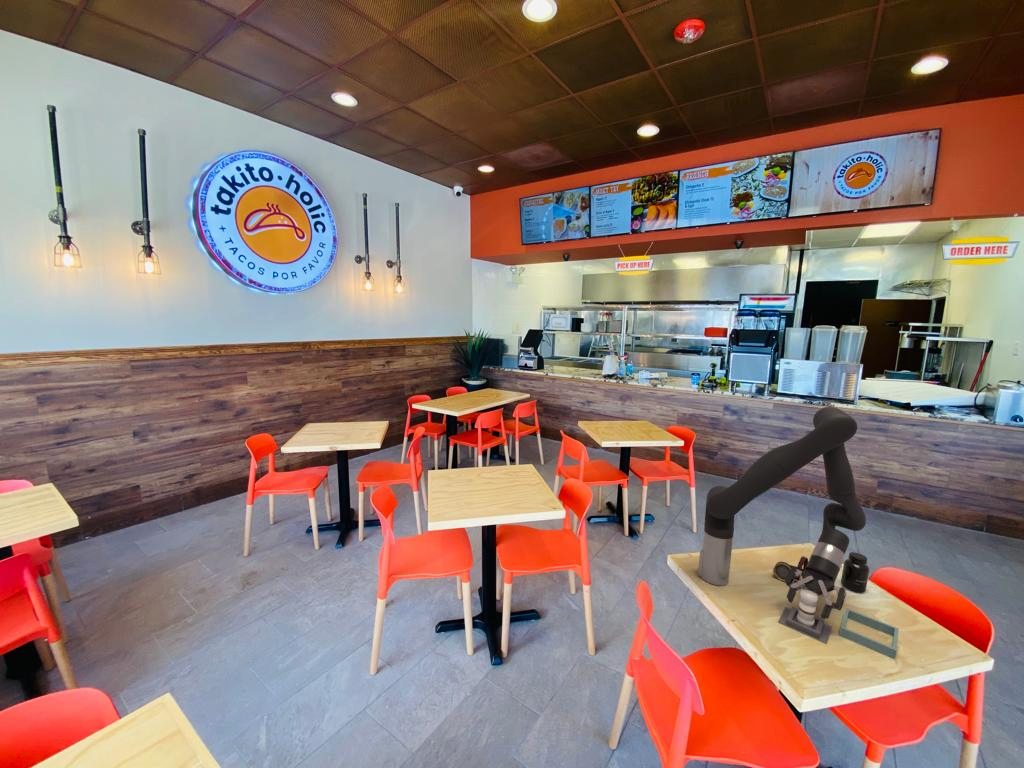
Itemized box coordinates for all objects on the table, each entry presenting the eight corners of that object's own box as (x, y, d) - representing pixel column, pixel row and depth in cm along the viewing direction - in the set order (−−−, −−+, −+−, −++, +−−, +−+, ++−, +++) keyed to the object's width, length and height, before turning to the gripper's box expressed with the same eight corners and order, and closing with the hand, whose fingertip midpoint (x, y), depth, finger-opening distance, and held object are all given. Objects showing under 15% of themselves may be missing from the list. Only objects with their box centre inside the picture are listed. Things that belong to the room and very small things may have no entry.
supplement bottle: (859, 596, 140) (865, 563, 138) (836, 584, 146) (841, 552, 144) (869, 590, 143) (875, 558, 142) (846, 579, 149) (851, 548, 148)
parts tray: (838, 638, 121) (840, 627, 120) (844, 618, 129) (846, 608, 129) (894, 662, 112) (896, 650, 112) (896, 639, 121) (898, 628, 120)
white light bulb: (795, 624, 125) (799, 593, 123) (798, 617, 128) (802, 587, 126) (812, 631, 122) (816, 600, 120) (814, 624, 125) (819, 594, 123)
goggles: (769, 578, 149) (774, 550, 149) (779, 572, 158) (784, 546, 158) (821, 599, 138) (826, 569, 138) (828, 591, 147) (834, 563, 147)
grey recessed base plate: (777, 625, 125) (778, 617, 125) (785, 609, 133) (786, 602, 132) (826, 647, 117) (827, 639, 117) (831, 629, 124) (833, 621, 124)
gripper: (796, 545, 132) (776, 591, 127) (852, 567, 121) (832, 619, 116) (801, 556, 136) (782, 601, 131) (855, 578, 124) (836, 628, 119)
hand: (805, 609), depth 123 cm, fingers open, 8 cm apart
